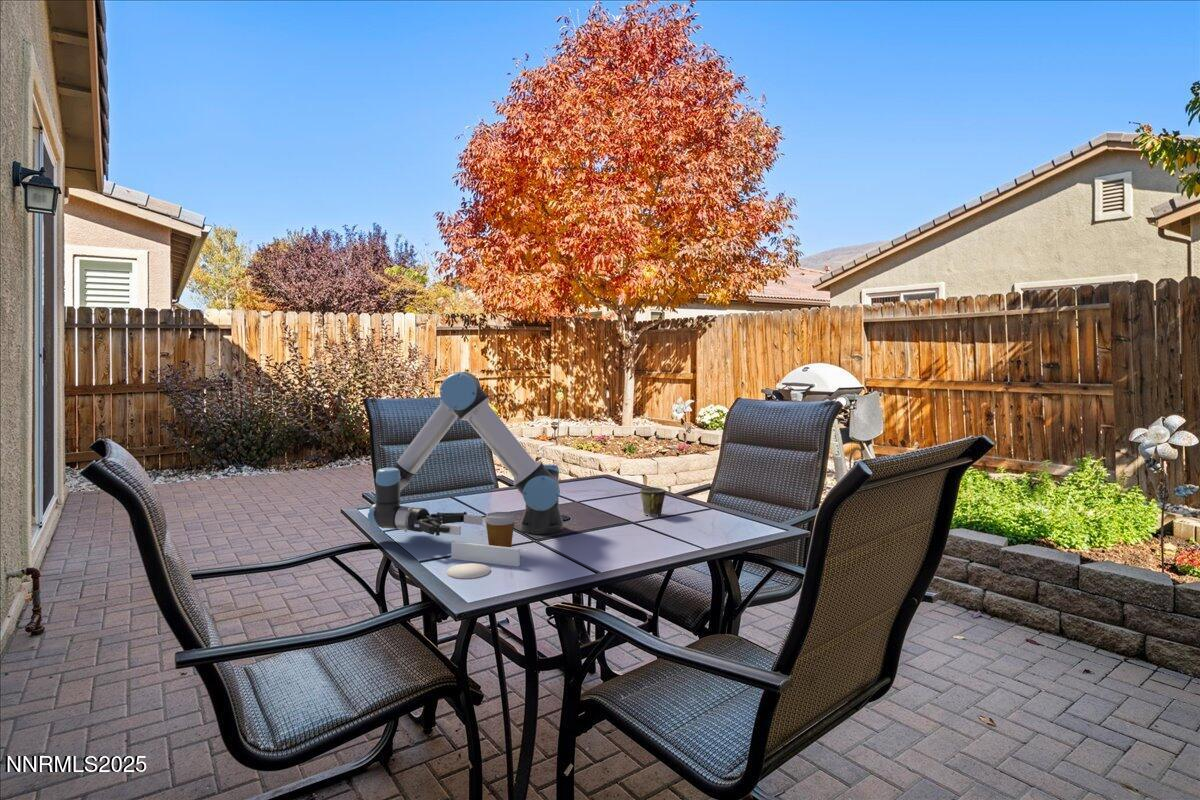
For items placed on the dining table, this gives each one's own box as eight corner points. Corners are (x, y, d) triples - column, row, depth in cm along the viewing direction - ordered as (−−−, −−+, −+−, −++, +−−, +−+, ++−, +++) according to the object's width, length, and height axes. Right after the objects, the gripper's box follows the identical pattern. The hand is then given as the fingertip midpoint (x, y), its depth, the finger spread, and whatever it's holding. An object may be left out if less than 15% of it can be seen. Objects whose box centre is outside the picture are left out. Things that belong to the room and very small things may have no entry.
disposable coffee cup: (520, 555, 200) (520, 516, 199) (490, 559, 195) (490, 519, 194) (508, 547, 208) (508, 510, 207) (480, 551, 203) (480, 513, 203)
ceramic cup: (639, 511, 260) (639, 486, 259) (664, 512, 259) (664, 487, 259) (640, 519, 247) (640, 493, 246) (666, 520, 246) (667, 493, 246)
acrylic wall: (451, 558, 195) (451, 542, 195) (453, 557, 197) (453, 541, 196) (518, 566, 188) (518, 549, 188) (519, 565, 189) (519, 548, 189)
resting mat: (494, 565, 189) (494, 564, 189) (483, 579, 177) (483, 577, 177) (454, 564, 190) (454, 562, 190) (440, 577, 178) (440, 576, 178)
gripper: (435, 522, 223) (490, 528, 216) (389, 540, 199) (449, 547, 192) (435, 500, 222) (490, 505, 216) (389, 515, 199) (449, 522, 192)
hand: (471, 525), depth 204 cm, fingers open, 13 cm apart
